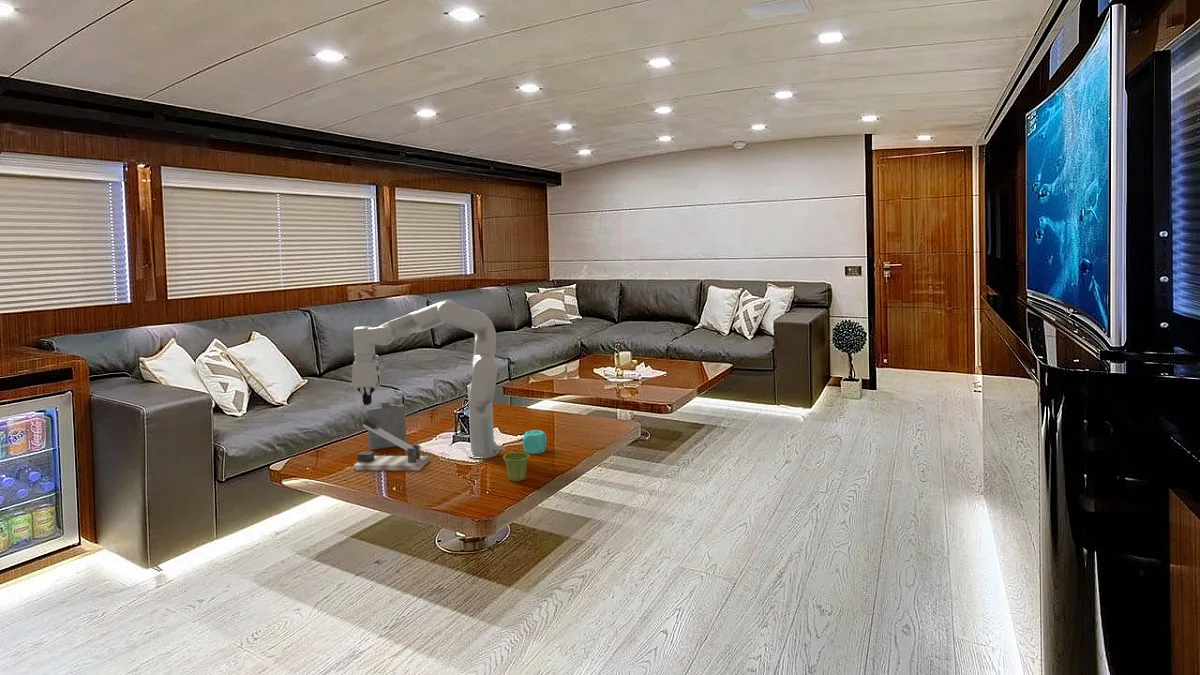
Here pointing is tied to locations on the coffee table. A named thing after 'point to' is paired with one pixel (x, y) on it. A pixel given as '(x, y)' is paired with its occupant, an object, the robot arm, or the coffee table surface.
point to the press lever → (384, 433)
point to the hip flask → (387, 424)
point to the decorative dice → (534, 442)
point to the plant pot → (516, 465)
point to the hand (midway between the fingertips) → (367, 404)
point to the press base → (392, 461)
